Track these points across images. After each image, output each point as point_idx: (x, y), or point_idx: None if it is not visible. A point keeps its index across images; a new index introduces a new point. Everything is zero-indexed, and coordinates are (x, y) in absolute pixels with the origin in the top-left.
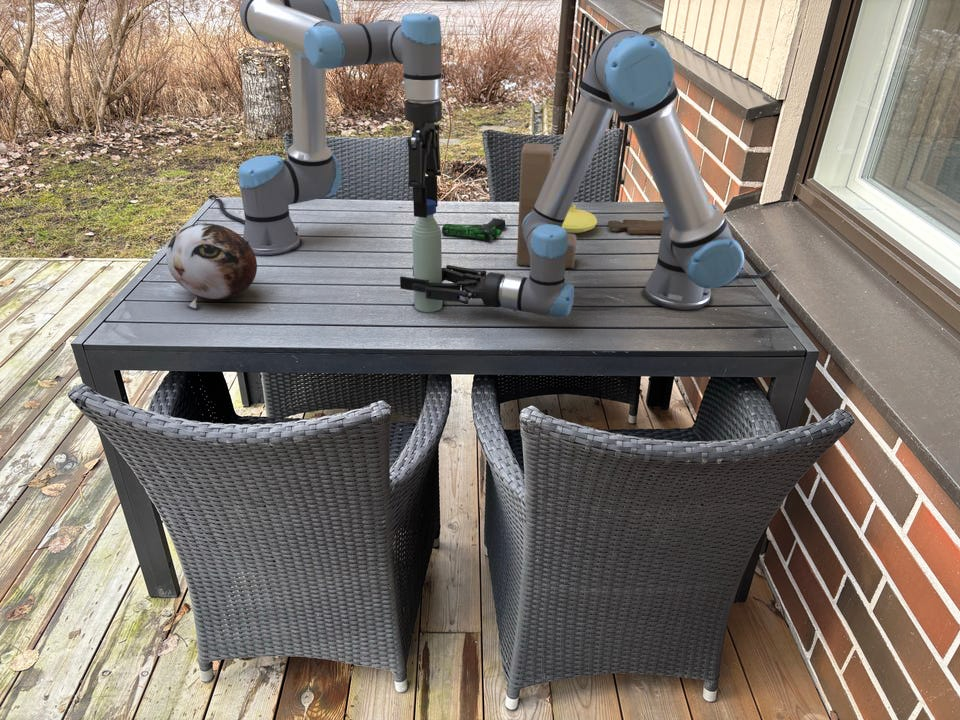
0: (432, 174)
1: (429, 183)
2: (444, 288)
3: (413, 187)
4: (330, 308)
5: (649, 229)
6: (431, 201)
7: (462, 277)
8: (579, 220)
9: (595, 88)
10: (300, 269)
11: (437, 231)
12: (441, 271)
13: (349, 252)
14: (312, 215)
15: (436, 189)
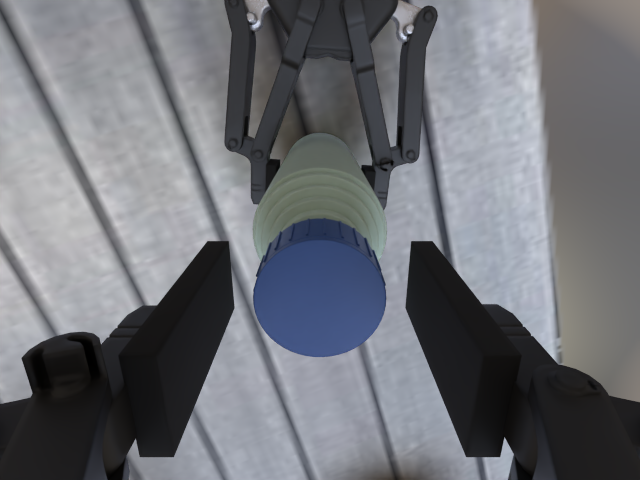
0: (117, 412)
1: (187, 371)
2: (406, 102)
3: (497, 444)
4: (387, 359)
5: None
6: (291, 273)
7: (298, 70)
8: None
9: None
10: (235, 471)
11: (342, 177)
12: (313, 144)
13: None
14: None
15: (188, 293)
